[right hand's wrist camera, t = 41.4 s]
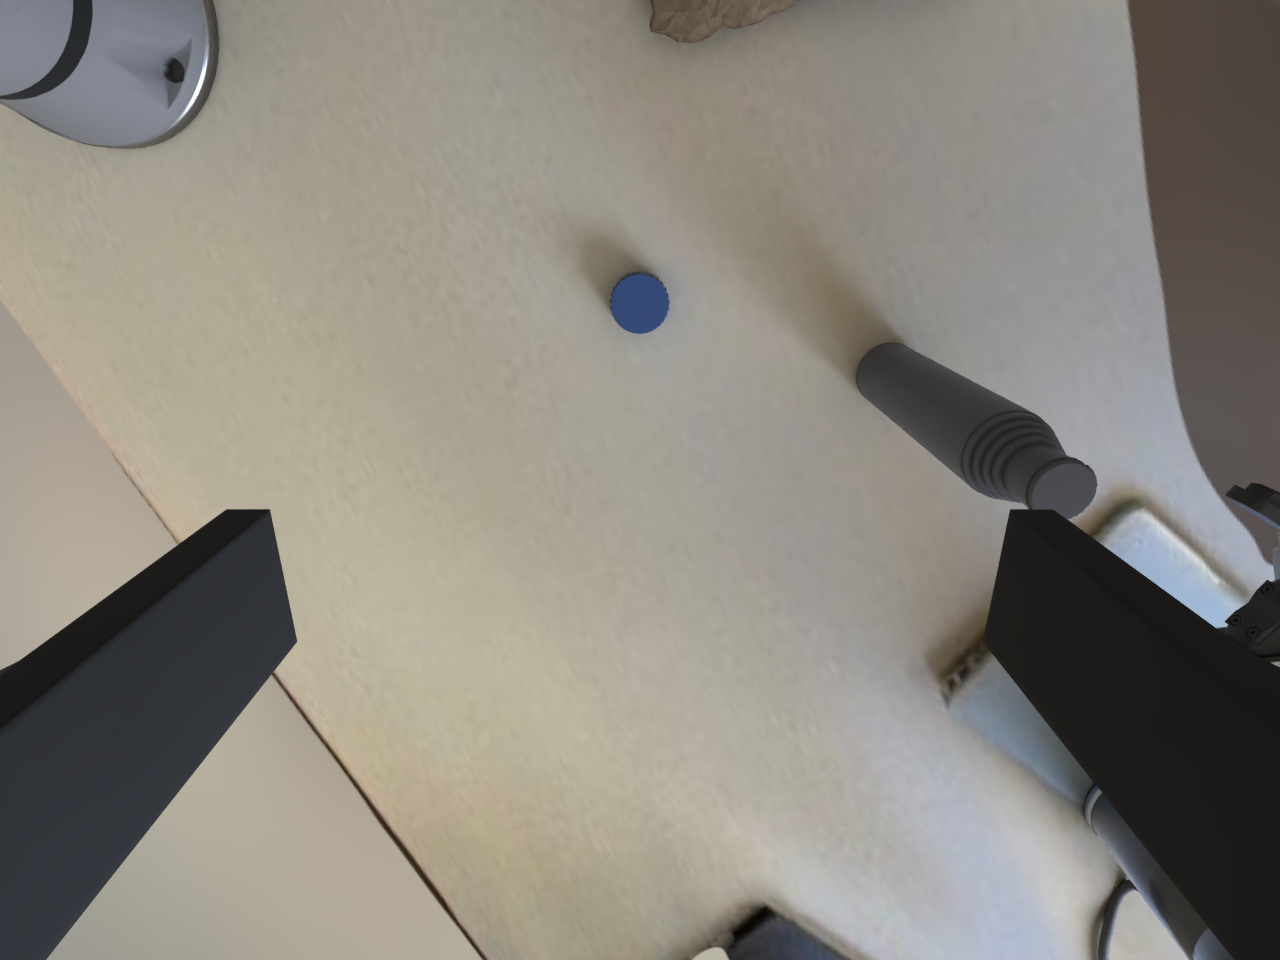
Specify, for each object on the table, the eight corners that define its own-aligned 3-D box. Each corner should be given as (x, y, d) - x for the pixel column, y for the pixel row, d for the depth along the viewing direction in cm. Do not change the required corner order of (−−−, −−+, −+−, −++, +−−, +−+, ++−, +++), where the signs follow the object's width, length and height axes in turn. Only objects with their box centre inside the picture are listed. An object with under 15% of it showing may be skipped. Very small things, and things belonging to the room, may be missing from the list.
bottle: (884, 416, 54) (1051, 560, 32) (843, 376, 53) (987, 496, 31) (931, 371, 53) (1140, 489, 31) (890, 329, 51) (1077, 420, 30)
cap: (677, 285, 50) (679, 288, 49) (654, 339, 52) (655, 343, 50) (624, 262, 50) (623, 263, 48) (602, 317, 51) (601, 320, 50)
